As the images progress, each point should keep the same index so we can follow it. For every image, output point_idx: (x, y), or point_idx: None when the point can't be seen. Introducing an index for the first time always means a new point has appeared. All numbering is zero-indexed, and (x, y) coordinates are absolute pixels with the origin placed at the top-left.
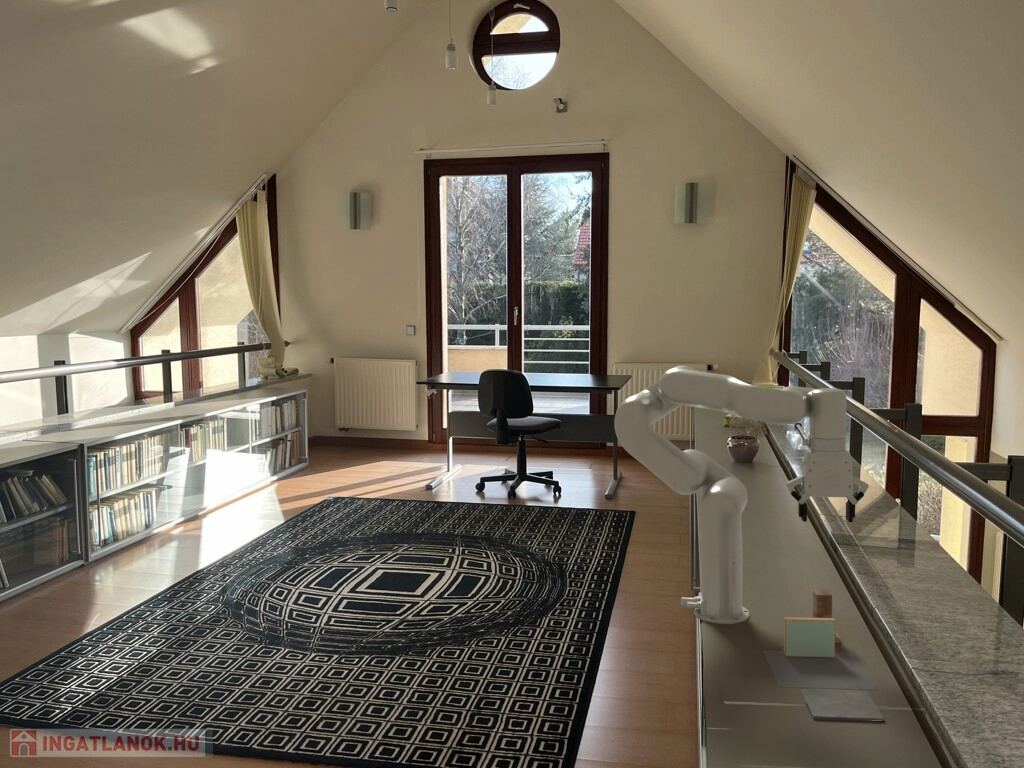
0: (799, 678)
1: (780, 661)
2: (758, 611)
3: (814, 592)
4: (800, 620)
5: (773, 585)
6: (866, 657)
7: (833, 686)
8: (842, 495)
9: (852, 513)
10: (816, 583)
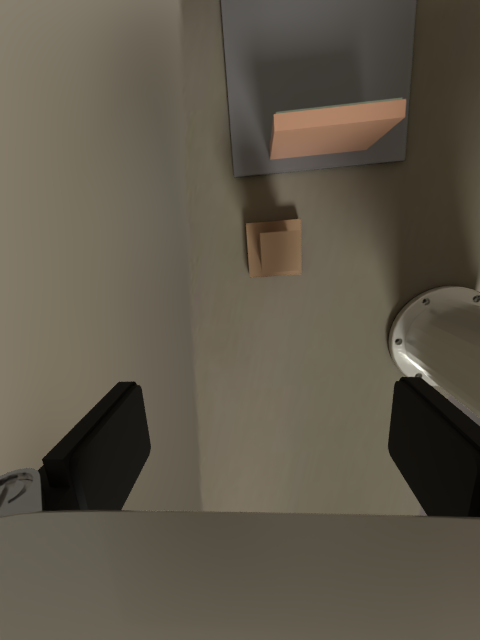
0: (362, 19)
1: None
2: (363, 362)
3: (300, 255)
4: (363, 104)
5: (311, 475)
6: (209, 174)
7: None
8: (64, 524)
9: (91, 410)
10: (237, 487)
